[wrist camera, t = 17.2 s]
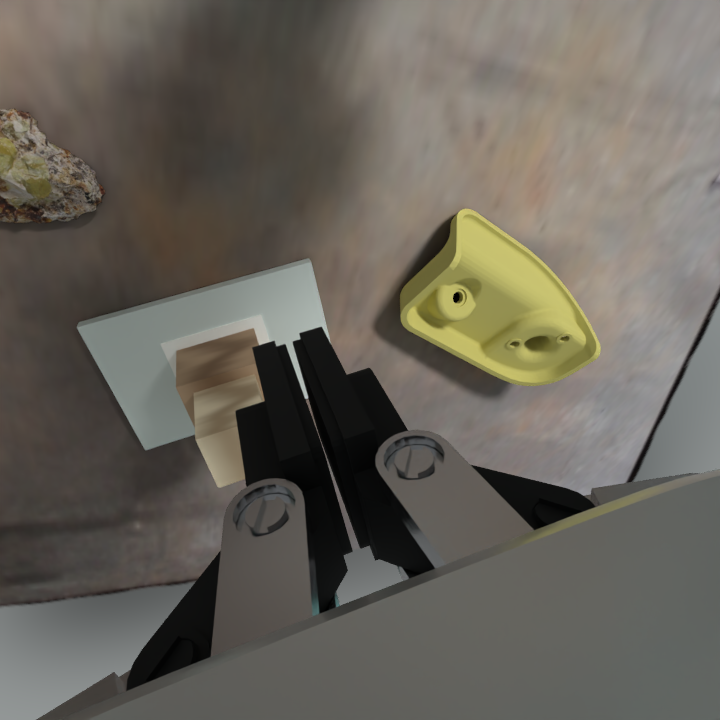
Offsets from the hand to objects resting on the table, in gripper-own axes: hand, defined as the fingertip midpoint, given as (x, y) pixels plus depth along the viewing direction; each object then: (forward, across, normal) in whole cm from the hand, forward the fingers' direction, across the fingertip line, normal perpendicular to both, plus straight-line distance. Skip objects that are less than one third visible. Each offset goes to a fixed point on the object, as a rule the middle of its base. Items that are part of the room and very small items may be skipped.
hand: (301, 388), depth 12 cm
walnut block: (+32, +5, +18) cm, 37 cm away
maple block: (+26, +5, +18) cm, 32 cm away
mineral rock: (+34, +13, -2) cm, 36 cm away
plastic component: (+34, -22, +20) cm, 45 cm away
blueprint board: (+33, +5, +17) cm, 38 cm away
